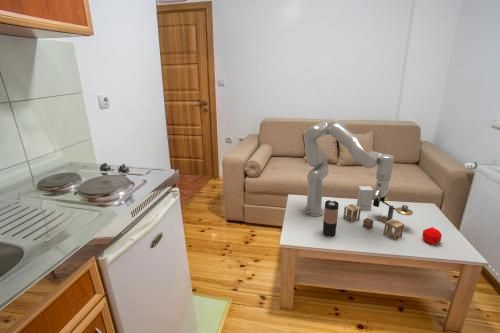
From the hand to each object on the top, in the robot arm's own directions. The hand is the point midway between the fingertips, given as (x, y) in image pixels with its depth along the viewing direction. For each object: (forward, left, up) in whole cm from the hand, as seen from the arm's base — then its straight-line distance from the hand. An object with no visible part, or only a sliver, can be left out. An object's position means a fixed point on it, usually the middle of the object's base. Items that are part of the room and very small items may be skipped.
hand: (378, 203), depth 166 cm
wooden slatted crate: (-1, +16, -18) cm, 24 cm away
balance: (+15, 0, -18) cm, 23 cm away
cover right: (+3, -10, -18) cm, 20 cm away
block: (-1, +4, -18) cm, 18 cm away
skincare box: (+18, +21, -18) cm, 33 cm away
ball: (+15, -25, -18) cm, 34 cm away
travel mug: (-26, +12, -18) cm, 34 cm away
